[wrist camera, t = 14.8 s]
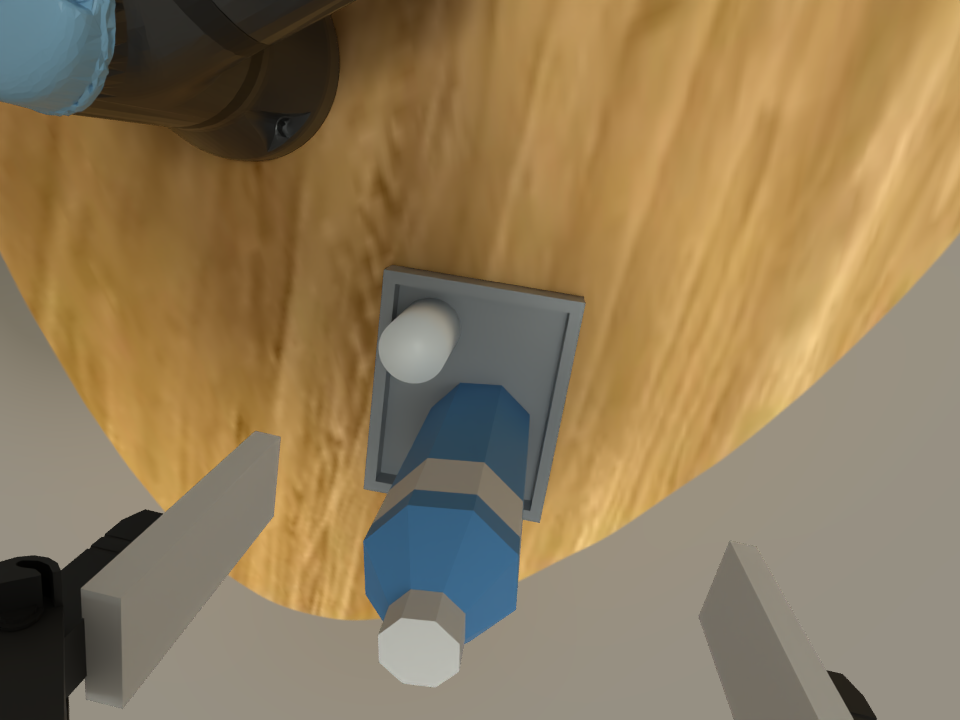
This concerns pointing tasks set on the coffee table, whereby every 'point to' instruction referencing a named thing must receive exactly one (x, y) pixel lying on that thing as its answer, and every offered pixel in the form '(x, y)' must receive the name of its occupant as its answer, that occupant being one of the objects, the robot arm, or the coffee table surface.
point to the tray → (478, 367)
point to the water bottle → (449, 534)
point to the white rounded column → (419, 340)
